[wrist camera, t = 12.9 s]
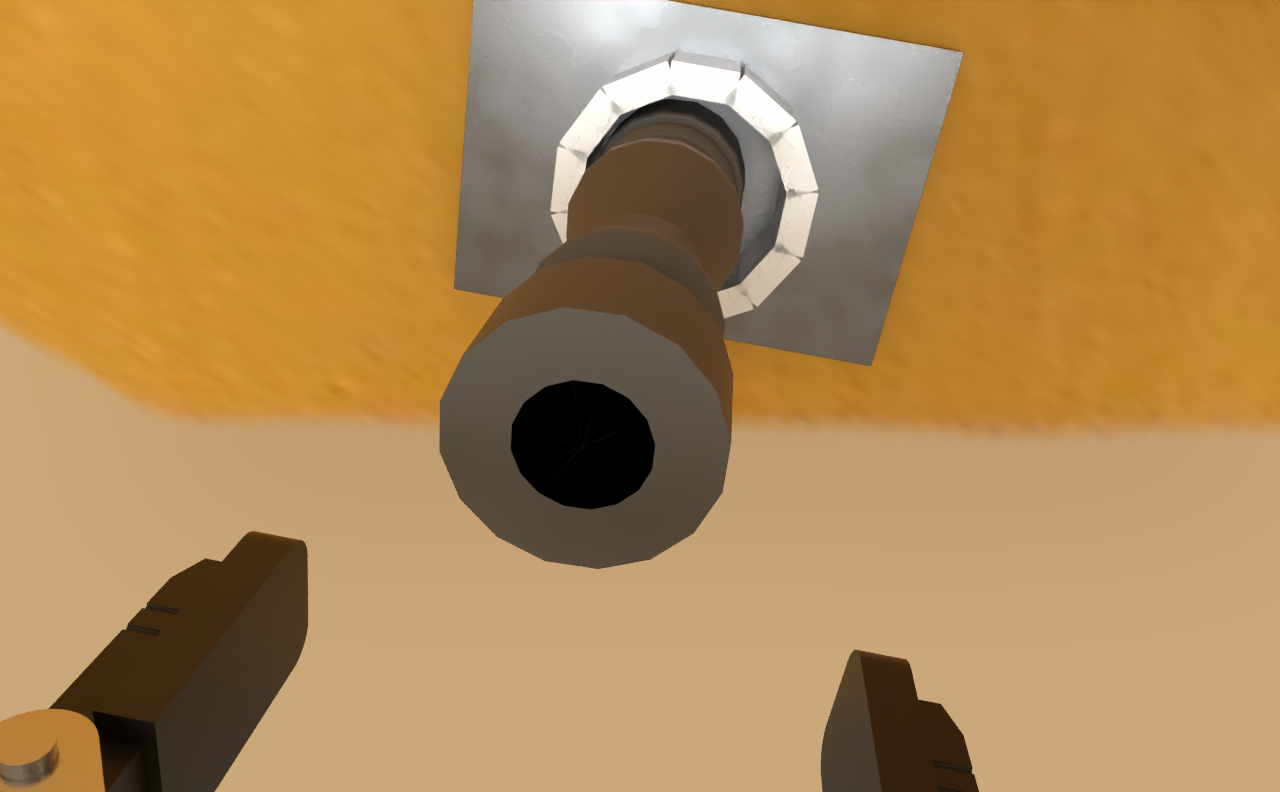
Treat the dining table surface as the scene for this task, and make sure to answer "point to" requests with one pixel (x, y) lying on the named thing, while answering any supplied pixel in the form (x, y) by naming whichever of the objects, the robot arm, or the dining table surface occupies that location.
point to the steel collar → (755, 112)
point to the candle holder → (611, 356)
